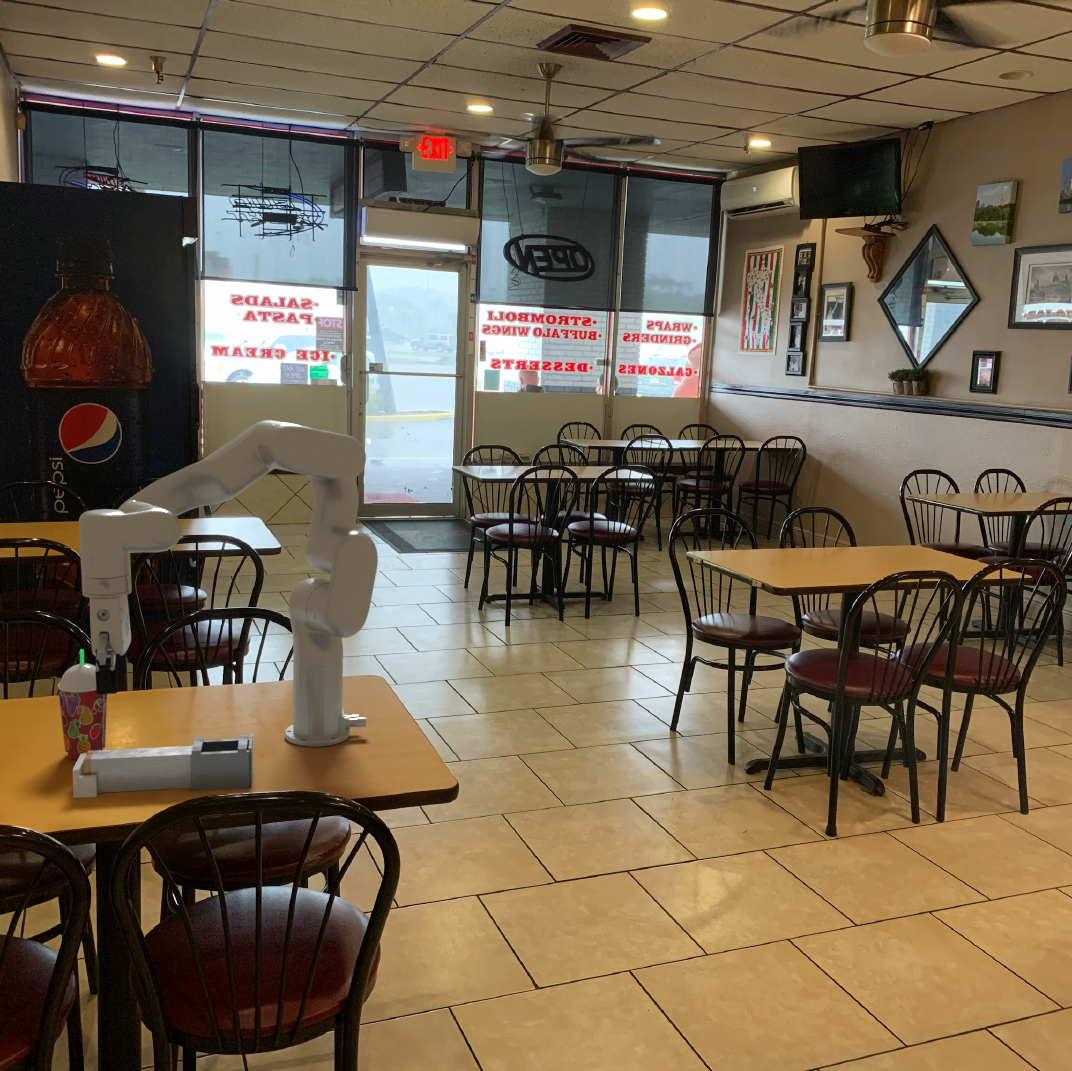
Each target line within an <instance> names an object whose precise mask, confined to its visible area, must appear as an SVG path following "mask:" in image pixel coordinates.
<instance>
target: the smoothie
mask: <svg viewBox="0 0 1072 1071" xmlns="http://www.w3.org/2000/svg"><path fill="white" fill-rule="evenodd" d="M79 658H80V663H78V664H74V665H73V666H71V667H69V668H68V669H67V670H66V671H65V672H64V673H63V675H62V677H61V680H60V681H59V682H58V684H57V688H58V698H59V709H60V717H61V725H62V726H61V727H62V733H63V735H62V736H63V737H62V738H63V744H64V751H65V752H66V753H67V756H68V758H69V759H72V760H74V761H75V760H76V761H77V760H78V758H79V756H80V754H83V753H88V751H95V750H104V748H106V731H107V728H106V727H107V706H108V705H107V703H108V694H97V692H96V674H95V671H96V665H94V664H91V663H85V650H84V648H83V649H82V648H81V649H80V650H79Z"/></svg>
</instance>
